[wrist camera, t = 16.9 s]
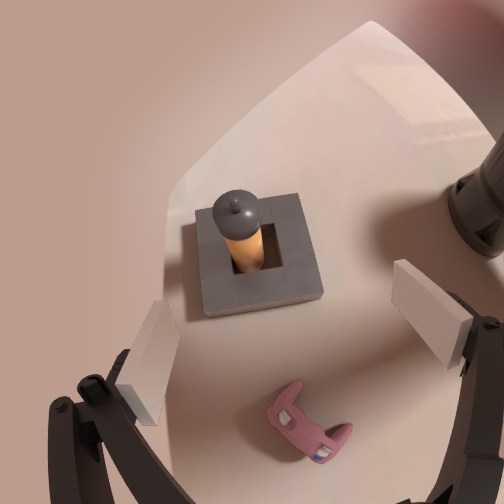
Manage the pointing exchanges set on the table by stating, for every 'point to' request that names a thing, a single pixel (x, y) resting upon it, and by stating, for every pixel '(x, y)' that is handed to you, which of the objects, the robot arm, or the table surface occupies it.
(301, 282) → the grey square socket block
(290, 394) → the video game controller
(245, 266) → the orange lidded canister
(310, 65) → the table surface
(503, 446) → the ramekin
